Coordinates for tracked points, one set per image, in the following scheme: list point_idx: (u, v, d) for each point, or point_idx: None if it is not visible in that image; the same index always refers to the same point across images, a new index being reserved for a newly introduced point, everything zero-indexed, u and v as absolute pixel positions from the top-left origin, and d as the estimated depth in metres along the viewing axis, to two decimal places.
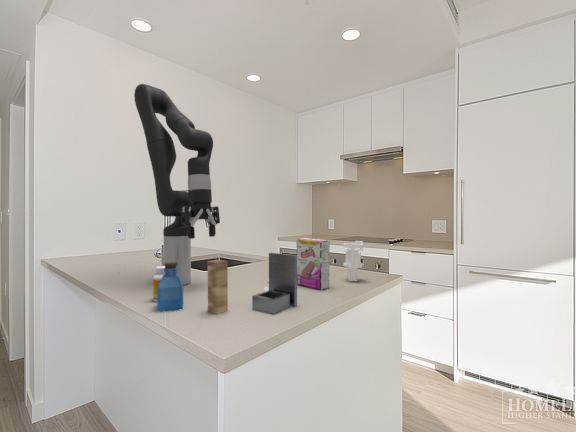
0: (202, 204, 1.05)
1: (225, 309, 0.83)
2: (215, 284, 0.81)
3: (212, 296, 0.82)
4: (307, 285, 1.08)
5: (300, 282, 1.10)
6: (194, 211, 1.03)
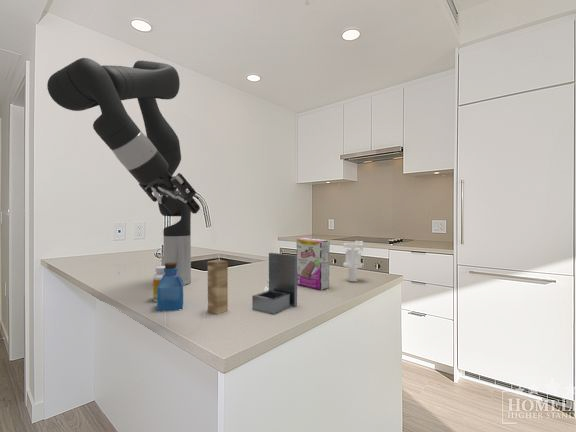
0: None
1: (225, 309, 0.83)
2: (215, 284, 0.81)
3: (212, 296, 0.82)
4: (307, 285, 1.08)
5: (300, 282, 1.10)
6: None
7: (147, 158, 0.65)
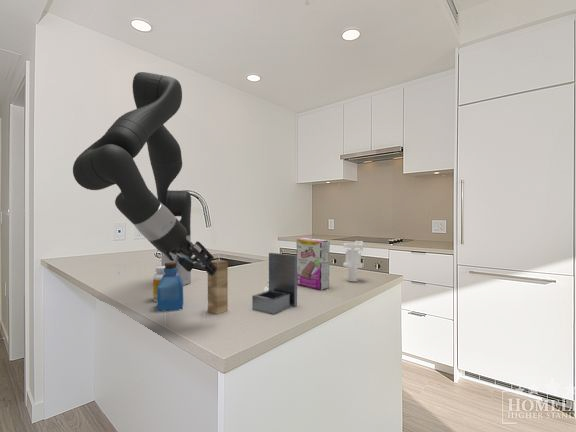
0: None
1: (225, 309, 0.83)
2: (215, 284, 0.81)
3: (212, 296, 0.82)
4: (307, 285, 1.08)
5: (300, 282, 1.10)
6: None
7: (167, 230, 0.67)
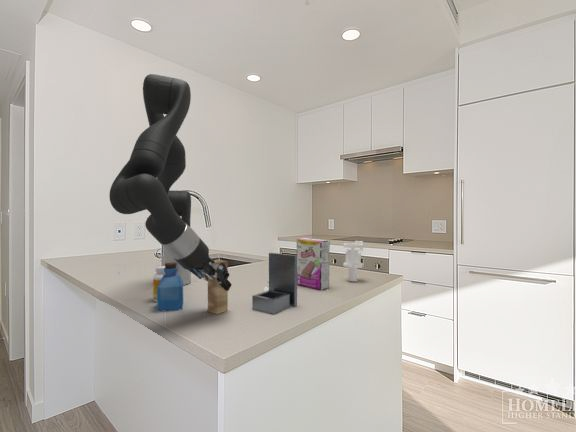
0: None
1: (225, 309, 0.83)
2: (215, 284, 0.81)
3: (212, 296, 0.82)
4: (307, 285, 1.08)
5: (300, 282, 1.10)
6: None
7: (192, 249, 0.72)
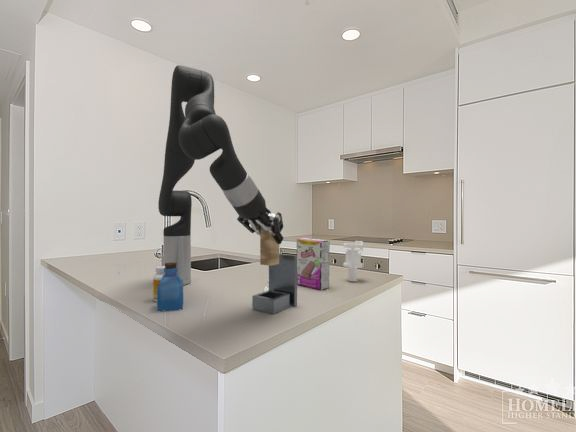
0: None
1: (277, 262, 0.85)
2: (269, 237, 0.83)
3: (265, 249, 0.84)
4: (307, 285, 1.08)
5: (300, 282, 1.10)
6: None
7: (252, 197, 0.74)
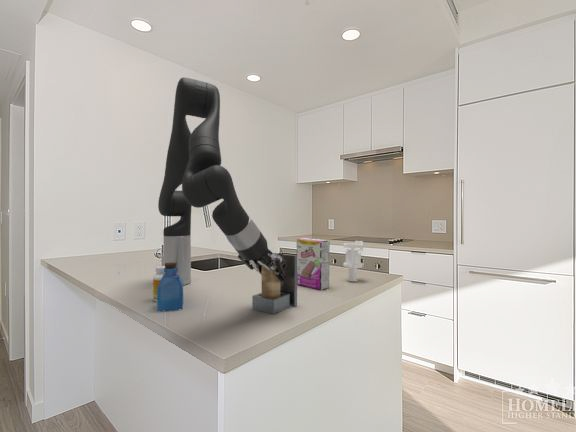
0: None
1: None
2: (270, 279, 0.83)
3: (266, 291, 0.84)
4: (307, 285, 1.08)
5: (300, 282, 1.10)
6: None
7: (255, 241, 0.74)
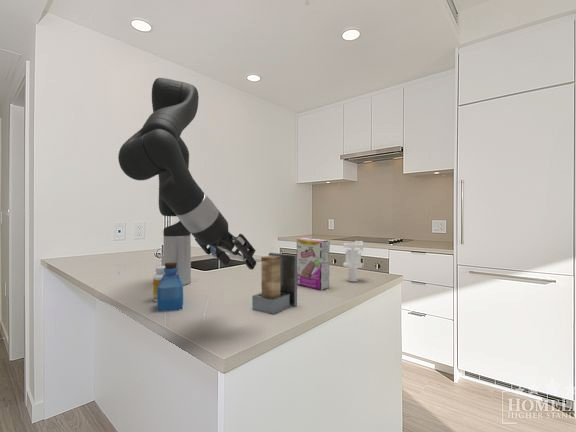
0: None
1: None
2: (270, 279, 0.83)
3: (266, 291, 0.84)
4: (307, 285, 1.08)
5: (300, 282, 1.10)
6: None
7: (211, 222, 0.64)
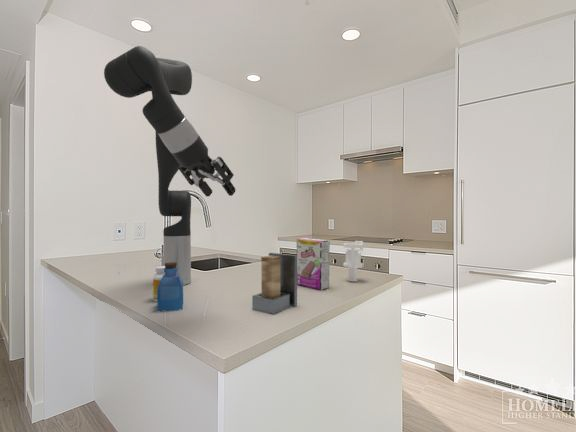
0: None
1: None
2: (270, 279, 0.83)
3: (266, 291, 0.84)
4: (307, 285, 1.08)
5: (300, 282, 1.10)
6: (190, 171, 0.78)
7: (191, 142, 0.70)
